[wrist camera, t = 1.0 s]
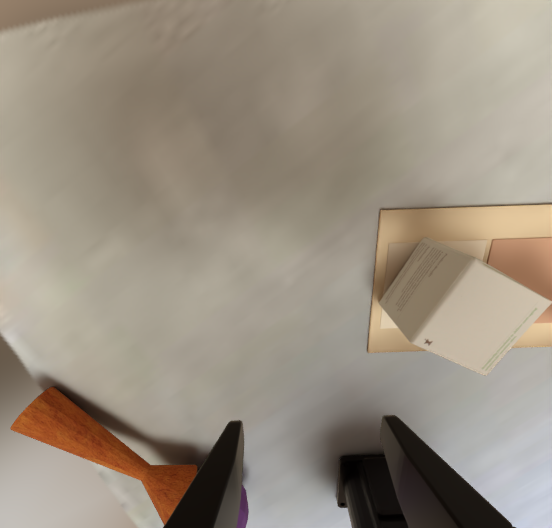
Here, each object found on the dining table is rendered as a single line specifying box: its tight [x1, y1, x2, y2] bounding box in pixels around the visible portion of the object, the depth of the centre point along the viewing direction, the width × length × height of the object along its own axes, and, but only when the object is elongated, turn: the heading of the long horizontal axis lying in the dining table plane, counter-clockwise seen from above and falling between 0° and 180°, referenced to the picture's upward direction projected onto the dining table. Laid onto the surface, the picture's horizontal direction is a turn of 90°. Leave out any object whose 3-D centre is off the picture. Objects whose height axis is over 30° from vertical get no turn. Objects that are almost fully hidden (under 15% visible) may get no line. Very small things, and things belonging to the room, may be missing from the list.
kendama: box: [11, 387, 249, 528], centre depth 22 cm, size 6×6×20 cm
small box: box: [379, 237, 552, 376], centre depth 17 cm, size 6×6×5 cm
